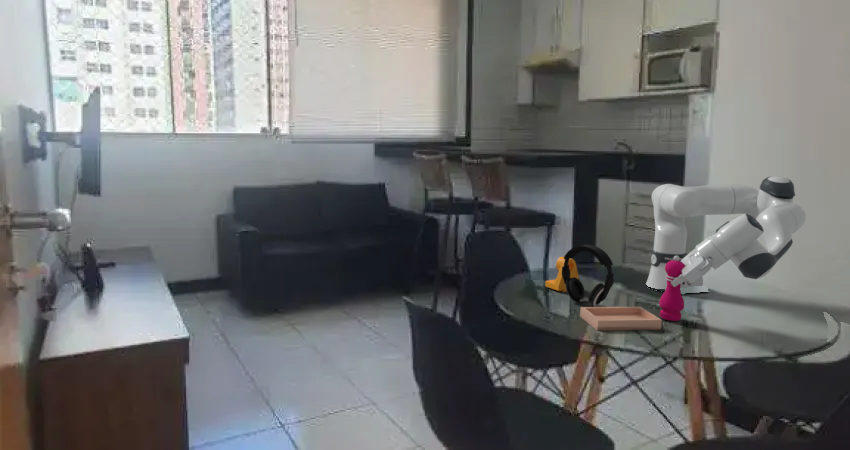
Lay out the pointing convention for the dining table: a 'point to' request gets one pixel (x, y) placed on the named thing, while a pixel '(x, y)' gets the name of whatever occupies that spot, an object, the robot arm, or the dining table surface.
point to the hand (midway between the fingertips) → (671, 282)
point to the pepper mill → (672, 292)
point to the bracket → (559, 281)
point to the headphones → (575, 285)
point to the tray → (620, 318)
